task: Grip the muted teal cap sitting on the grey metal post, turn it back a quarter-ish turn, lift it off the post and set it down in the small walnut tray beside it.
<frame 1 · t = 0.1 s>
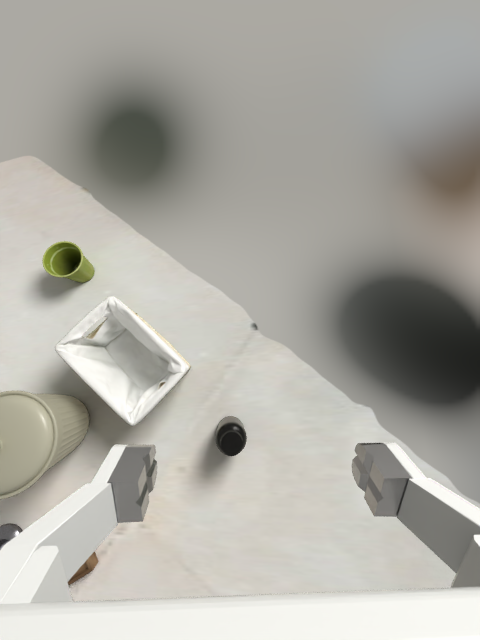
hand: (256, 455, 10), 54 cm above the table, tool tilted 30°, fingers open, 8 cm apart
canister: (65, 422, 59), on the table
supplement bottle: (230, 429, 61), on the table
storage basket: (144, 360, 63), on the table
plant pot: (83, 273, 67), on the table
post: (6, 544, 53), on the table
walnut tray: (67, 551, 54), on the table
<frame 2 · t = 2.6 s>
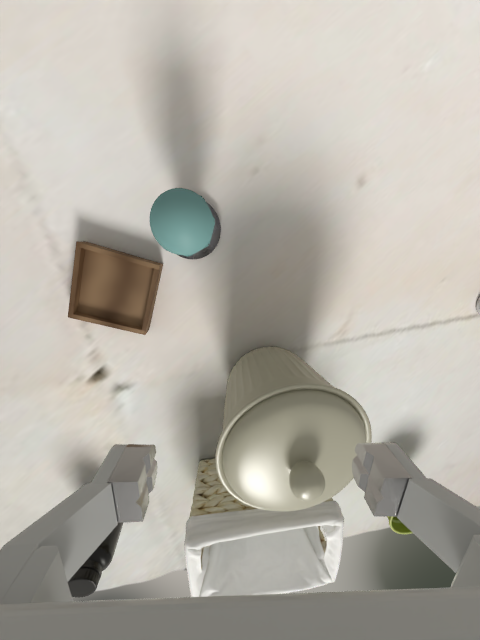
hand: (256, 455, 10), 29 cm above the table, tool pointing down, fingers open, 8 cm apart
canister: (264, 376, 43), on the table
cap: (187, 226, 27), point 7 cm above the table, touching post
supplement bottle: (110, 504, 48), on the table
storage basket: (251, 475, 50), on the table
plant pot: (382, 475, 54), on the table
post: (191, 229, 34), on the table
walnut tray: (119, 288, 35), on the table
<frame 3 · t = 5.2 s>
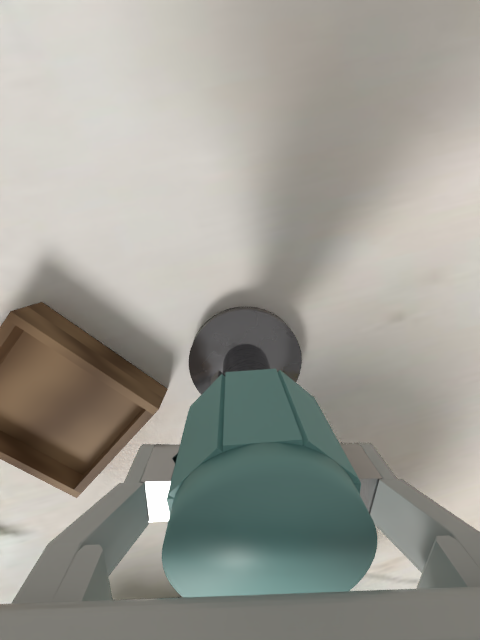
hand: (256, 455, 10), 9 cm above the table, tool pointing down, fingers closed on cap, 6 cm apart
cap: (253, 425, 11), point 7 cm above the table, touching gripper, post
post: (244, 358, 18), on the table
walnut tray: (71, 395, 18), on the table
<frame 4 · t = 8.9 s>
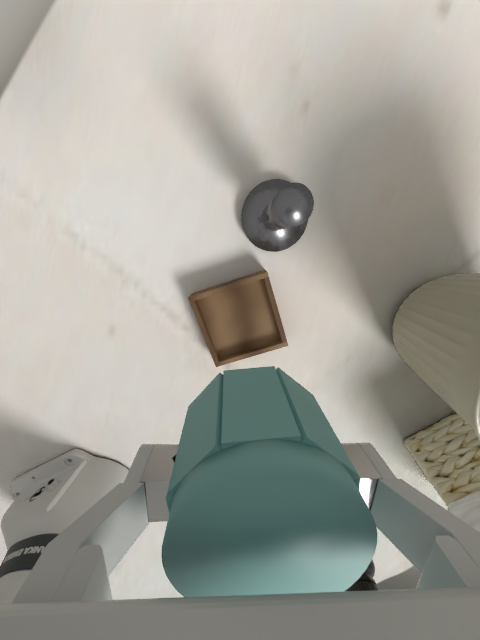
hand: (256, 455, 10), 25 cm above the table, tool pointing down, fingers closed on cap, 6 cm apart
canister: (431, 319, 34), on the table
cap: (252, 423, 11), point 23 cm above the table, touching gripper
supplement bottle: (333, 512, 47), on the table
storage basket: (472, 432, 41), on the table
post: (273, 217, 30), on the table
walnut tray: (239, 317, 34), on the table
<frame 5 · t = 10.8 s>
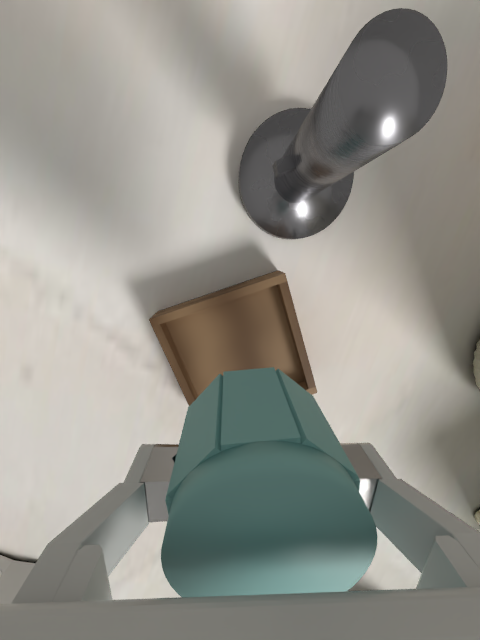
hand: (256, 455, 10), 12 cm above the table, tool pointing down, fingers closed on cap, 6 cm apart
cap: (252, 424, 11), point 10 cm above the table, touching gripper
post: (293, 181, 18), on the table
walnut tray: (237, 346, 21), on the table
when the fingers open (4 cm above the table, at t = 12.2 s): cap drops 1 cm, resting on walnut tray.
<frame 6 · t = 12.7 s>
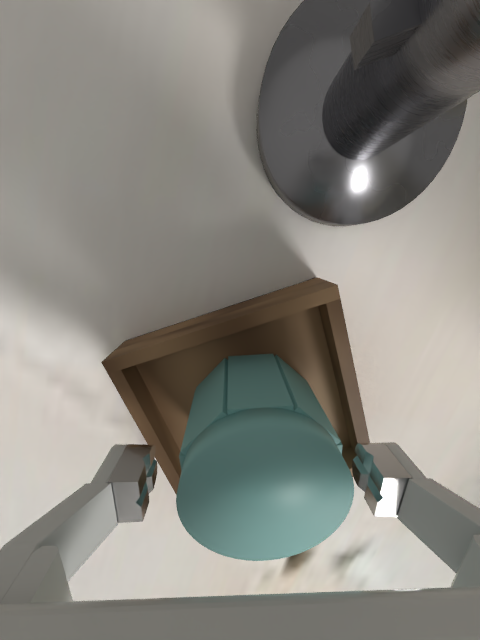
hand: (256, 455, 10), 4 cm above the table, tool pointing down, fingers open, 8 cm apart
cap: (252, 405, 13), point 1 cm above the table, touching walnut tray
post: (350, 124, 10), on the table
walnut tray: (249, 392, 14), on the table
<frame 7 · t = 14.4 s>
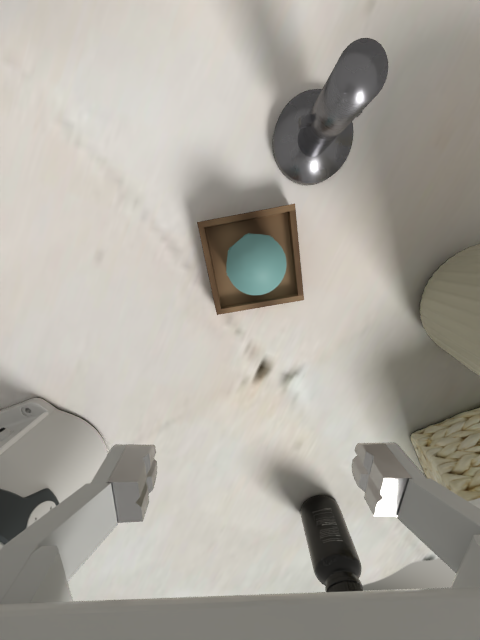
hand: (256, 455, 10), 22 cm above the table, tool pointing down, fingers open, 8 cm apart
canister: (462, 296, 31), on the table
cap: (253, 261, 28), point 1 cm above the table, touching walnut tray
supplement bottle: (318, 506, 43), on the table
post: (310, 142, 25), on the table
walnut tray: (252, 261, 29), on the table
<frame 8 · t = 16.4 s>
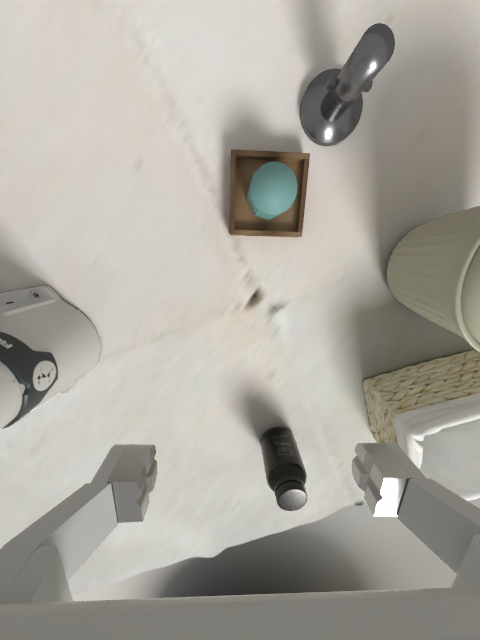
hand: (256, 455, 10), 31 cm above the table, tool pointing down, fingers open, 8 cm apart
canister: (419, 265, 39), on the table
cap: (267, 196, 34), point 1 cm above the table, touching walnut tray
supplement bottle: (277, 439, 49), on the table
storage basket: (417, 391, 47), on the table
post: (329, 111, 32), on the table
walnut tray: (265, 198, 35), on the table
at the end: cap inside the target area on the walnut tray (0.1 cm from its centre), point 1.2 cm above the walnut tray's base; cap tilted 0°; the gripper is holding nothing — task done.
